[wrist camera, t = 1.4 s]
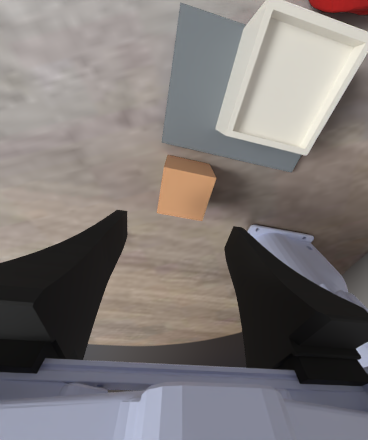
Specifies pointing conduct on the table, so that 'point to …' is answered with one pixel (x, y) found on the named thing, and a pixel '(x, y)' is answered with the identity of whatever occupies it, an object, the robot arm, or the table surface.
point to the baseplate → (209, 91)
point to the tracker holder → (341, 6)
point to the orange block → (185, 188)
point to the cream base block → (289, 76)
